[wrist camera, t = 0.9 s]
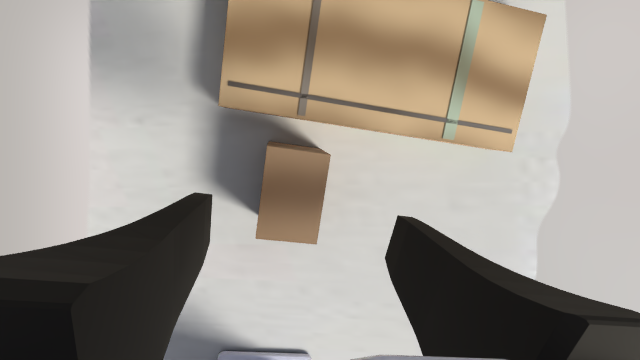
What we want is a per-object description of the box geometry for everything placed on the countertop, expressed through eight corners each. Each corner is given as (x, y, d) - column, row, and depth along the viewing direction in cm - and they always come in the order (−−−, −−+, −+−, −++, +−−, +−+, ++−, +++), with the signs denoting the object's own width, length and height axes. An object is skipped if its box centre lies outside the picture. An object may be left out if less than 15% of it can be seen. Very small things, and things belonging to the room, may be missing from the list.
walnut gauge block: (308, 220, 25) (316, 244, 20) (259, 215, 25) (255, 238, 20) (320, 148, 24) (330, 154, 19) (269, 141, 24) (267, 145, 19)
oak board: (490, 149, 26) (513, 152, 24) (224, 107, 23) (218, 105, 20) (519, 25, 24) (547, 14, 22) (239, -41, 21) (234, -63, 18)
